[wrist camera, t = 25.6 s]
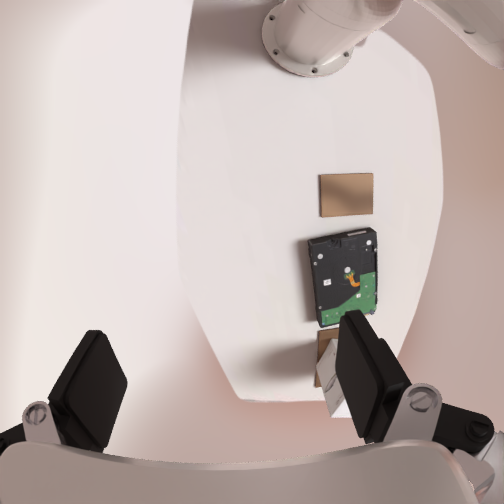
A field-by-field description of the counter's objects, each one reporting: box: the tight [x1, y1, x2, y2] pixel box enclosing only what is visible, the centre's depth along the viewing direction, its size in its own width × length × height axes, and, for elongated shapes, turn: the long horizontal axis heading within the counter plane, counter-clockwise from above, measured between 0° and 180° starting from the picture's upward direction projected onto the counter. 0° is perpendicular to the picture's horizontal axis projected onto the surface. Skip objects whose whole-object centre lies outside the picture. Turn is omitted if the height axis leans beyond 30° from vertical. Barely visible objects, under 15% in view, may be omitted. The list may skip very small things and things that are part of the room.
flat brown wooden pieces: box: [315, 173, 373, 388], centre depth 46 cm, size 41×8×1 cm, turn 5°
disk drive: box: [308, 227, 378, 328], centre depth 43 cm, size 10×3×15 cm
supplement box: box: [316, 338, 351, 417], centre depth 44 cm, size 7×7×13 cm
